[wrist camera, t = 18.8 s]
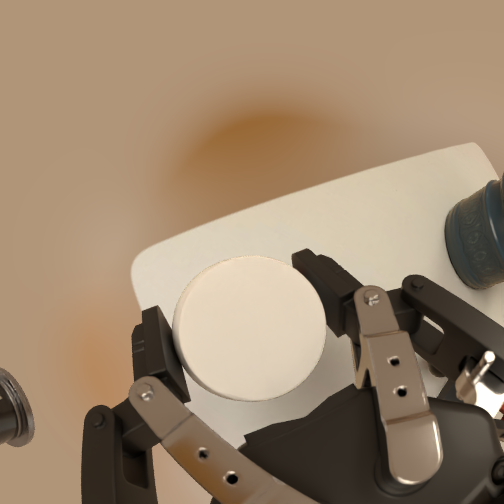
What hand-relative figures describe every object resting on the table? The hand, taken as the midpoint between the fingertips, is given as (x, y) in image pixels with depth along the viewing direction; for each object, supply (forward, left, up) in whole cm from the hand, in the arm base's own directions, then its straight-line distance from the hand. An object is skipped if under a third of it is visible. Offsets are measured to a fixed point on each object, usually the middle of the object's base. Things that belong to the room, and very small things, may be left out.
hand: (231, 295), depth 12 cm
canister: (+29, -18, -13) cm, 37 cm away
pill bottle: (-1, -2, -8) cm, 8 cm away
